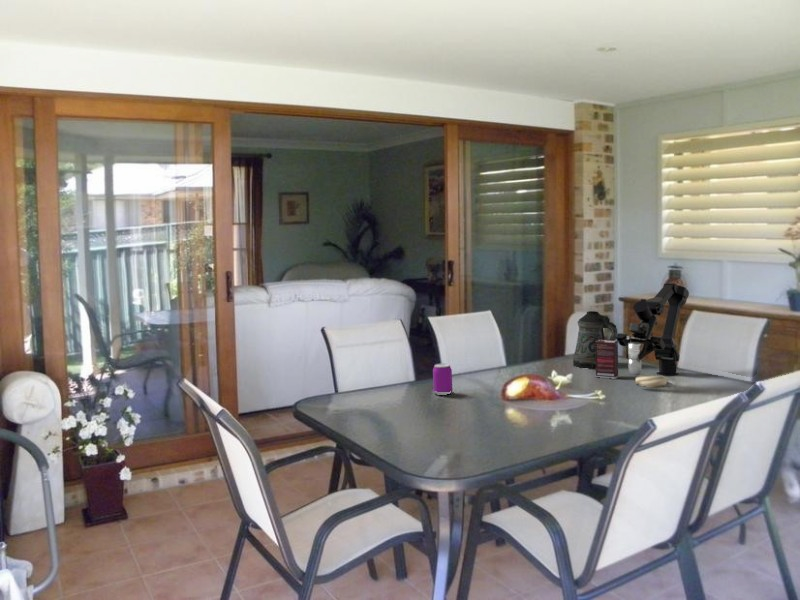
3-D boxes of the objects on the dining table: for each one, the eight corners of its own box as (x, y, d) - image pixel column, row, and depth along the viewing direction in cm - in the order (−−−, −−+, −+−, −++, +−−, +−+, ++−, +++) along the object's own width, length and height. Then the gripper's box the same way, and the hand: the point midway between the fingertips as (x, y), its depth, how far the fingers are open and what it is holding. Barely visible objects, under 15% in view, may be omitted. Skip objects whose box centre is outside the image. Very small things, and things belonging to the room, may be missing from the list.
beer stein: (570, 362, 346) (569, 309, 343) (612, 361, 344) (612, 308, 341) (575, 369, 330) (574, 314, 327) (619, 368, 328) (619, 313, 325)
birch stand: (629, 383, 302) (629, 378, 301) (650, 378, 307) (650, 374, 307) (651, 388, 291) (651, 383, 291) (673, 384, 296) (673, 379, 296)
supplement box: (618, 377, 313) (618, 340, 311) (615, 379, 309) (615, 342, 307) (598, 375, 317) (598, 339, 315) (595, 377, 313) (594, 341, 311)
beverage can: (451, 396, 292) (450, 367, 291) (432, 396, 294) (431, 367, 292) (453, 391, 300) (452, 363, 298) (435, 391, 301) (434, 363, 300)
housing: (625, 374, 293) (625, 343, 291) (634, 372, 295) (634, 341, 293) (634, 376, 288) (634, 345, 287) (644, 374, 290) (644, 343, 289)
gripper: (617, 313, 298) (604, 344, 292) (661, 316, 285) (648, 349, 278) (627, 329, 304) (614, 360, 298) (670, 333, 291) (658, 365, 285)
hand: (633, 358), depth 290 cm, fingers closed on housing, 5 cm apart
